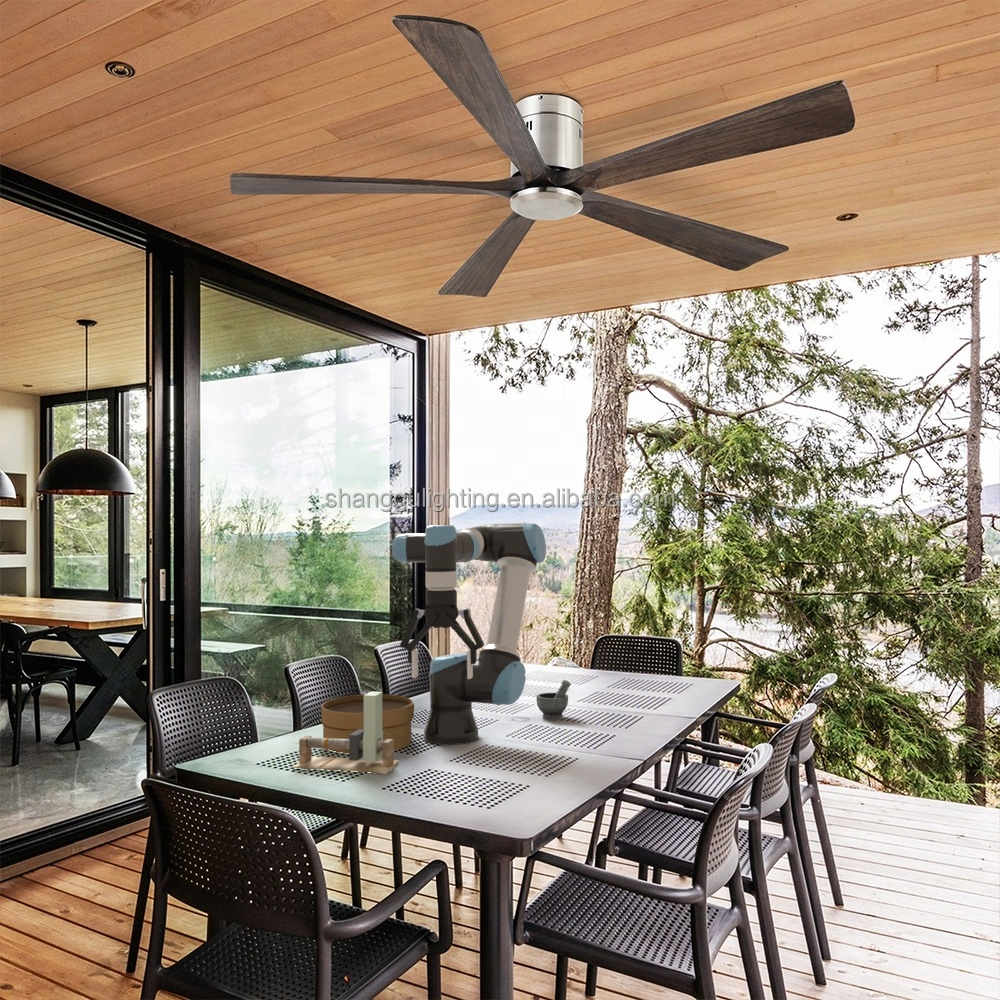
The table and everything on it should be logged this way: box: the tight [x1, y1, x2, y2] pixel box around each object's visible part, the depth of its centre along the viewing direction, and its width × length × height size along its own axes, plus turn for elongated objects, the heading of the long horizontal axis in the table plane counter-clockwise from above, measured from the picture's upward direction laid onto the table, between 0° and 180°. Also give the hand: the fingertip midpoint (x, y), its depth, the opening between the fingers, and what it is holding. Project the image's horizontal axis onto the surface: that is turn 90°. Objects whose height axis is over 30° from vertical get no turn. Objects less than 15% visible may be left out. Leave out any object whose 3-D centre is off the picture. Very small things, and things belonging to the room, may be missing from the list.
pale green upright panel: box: [362, 691, 383, 761], centre depth 196 cm, size 3×6×16 cm, turn 169°
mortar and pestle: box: [536, 679, 572, 721], centre depth 247 cm, size 11×9×12 cm
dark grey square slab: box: [348, 729, 364, 760], centre depth 196 cm, size 2×6×6 cm, turn 169°
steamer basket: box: [321, 693, 415, 753], centre depth 220 cm, size 25×25×11 cm
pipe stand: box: [292, 735, 400, 775], centre depth 197 cm, size 24×9×7 cm, turn 79°
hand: (442, 677), depth 192 cm, fingers open, 13 cm apart
